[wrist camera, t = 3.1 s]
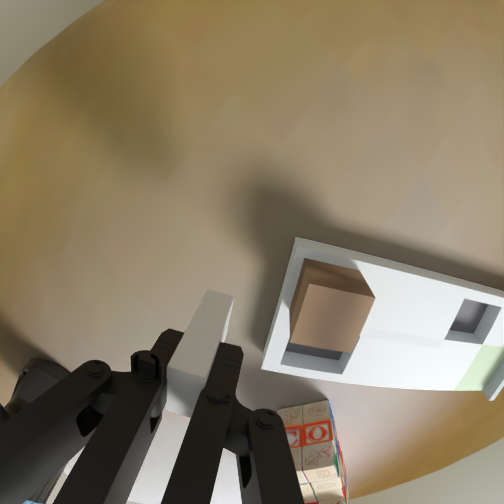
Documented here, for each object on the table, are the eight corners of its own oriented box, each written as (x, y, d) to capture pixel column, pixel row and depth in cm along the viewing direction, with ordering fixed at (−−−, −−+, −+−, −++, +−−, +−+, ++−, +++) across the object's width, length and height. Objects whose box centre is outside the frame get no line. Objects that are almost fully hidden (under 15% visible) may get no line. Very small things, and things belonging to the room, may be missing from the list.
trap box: (263, 352, 29) (259, 383, 24) (295, 236, 25) (298, 255, 20) (479, 378, 28) (493, 400, 24) (523, 296, 24) (544, 314, 20)
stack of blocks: (274, 407, 31) (268, 500, 20) (328, 397, 30) (339, 490, 19) (309, 483, 37) (309, 545, 26) (347, 476, 36) (353, 539, 25)
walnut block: (289, 309, 24) (289, 342, 20) (304, 257, 22) (309, 283, 18) (341, 320, 24) (351, 353, 20) (359, 270, 22) (375, 297, 18)
